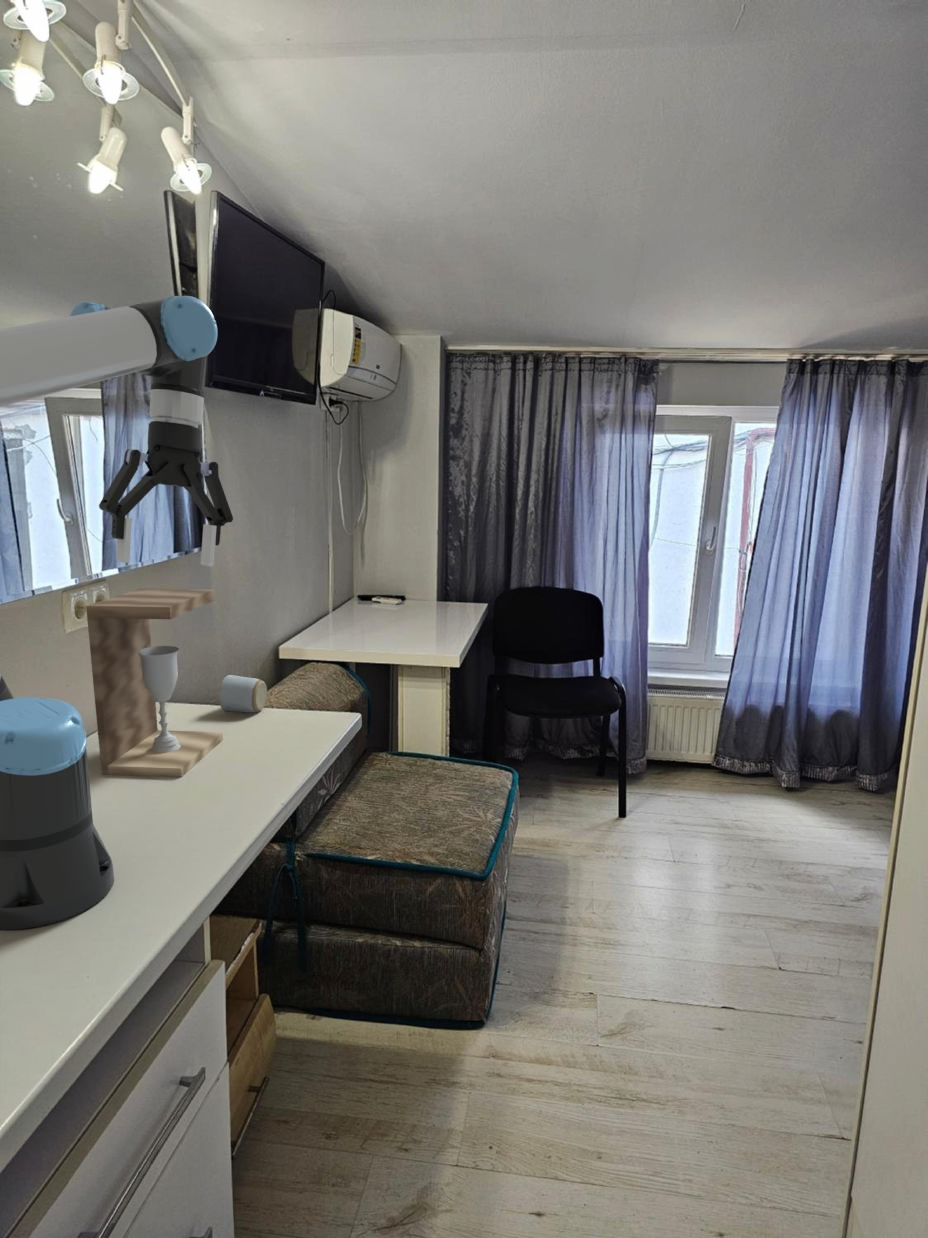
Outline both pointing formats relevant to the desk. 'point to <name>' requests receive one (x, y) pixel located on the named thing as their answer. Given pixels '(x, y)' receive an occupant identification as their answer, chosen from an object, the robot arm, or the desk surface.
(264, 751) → the desk surface
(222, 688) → the ceramic mug
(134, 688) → the walnut shelf
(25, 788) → the robot arm
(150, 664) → the chalice
